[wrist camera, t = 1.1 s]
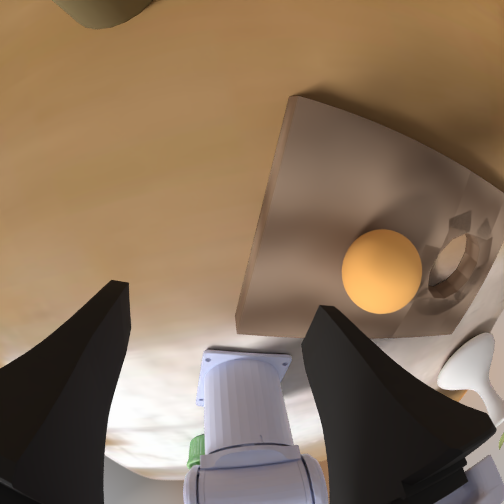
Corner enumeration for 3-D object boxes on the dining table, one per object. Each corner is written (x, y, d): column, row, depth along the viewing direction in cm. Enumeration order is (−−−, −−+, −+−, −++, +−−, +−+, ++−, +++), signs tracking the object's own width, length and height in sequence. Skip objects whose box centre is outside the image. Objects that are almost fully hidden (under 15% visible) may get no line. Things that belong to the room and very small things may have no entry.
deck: (442, 322, 27) (451, 334, 25) (235, 315, 22) (236, 333, 20) (504, 196, 19) (518, 203, 18) (289, 96, 14) (298, 95, 13)
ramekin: (180, 431, 32) (179, 459, 28) (247, 428, 32) (250, 456, 29) (193, 452, 36) (194, 475, 32) (249, 449, 37) (253, 473, 33)
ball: (378, 285, 19) (411, 331, 15) (320, 278, 18) (346, 331, 14) (406, 224, 17) (450, 262, 13) (345, 208, 16) (387, 249, 12)
